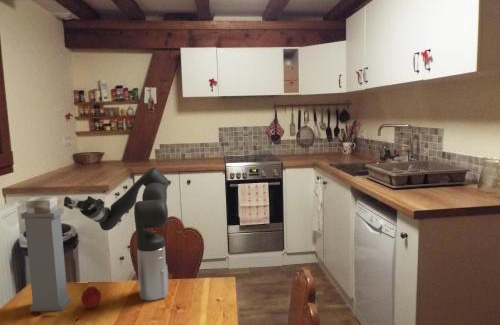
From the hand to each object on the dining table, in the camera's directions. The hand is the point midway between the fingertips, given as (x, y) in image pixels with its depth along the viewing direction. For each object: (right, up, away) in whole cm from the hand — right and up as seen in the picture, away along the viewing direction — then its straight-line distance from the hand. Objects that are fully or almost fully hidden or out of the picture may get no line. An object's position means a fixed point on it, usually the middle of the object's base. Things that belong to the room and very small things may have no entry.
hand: (77, 198), depth 140 cm
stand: (+1, -33, -20) cm, 39 cm away
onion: (+15, -33, -22) cm, 43 cm away
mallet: (+1, -1, -20) cm, 20 cm away
